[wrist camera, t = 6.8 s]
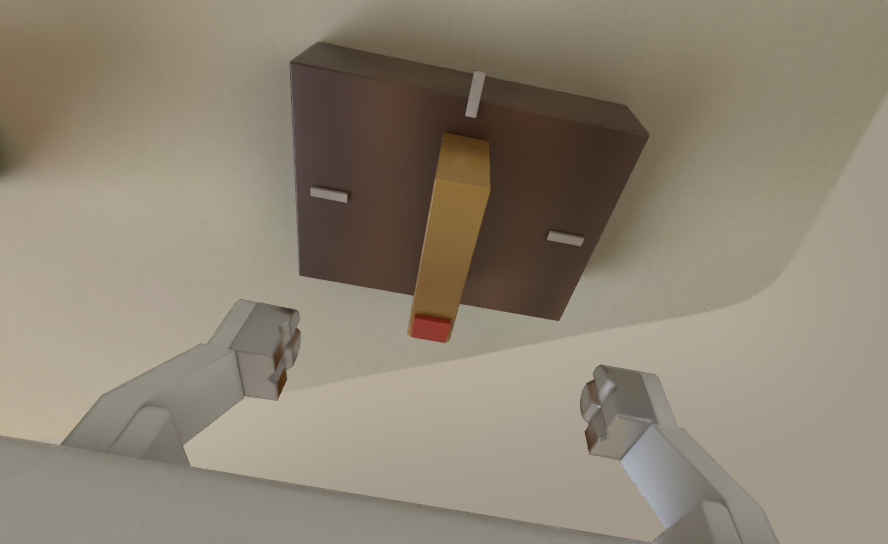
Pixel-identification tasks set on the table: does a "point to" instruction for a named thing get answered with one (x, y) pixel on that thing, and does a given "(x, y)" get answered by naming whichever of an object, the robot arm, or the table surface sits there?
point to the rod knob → (450, 235)
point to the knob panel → (414, 168)
